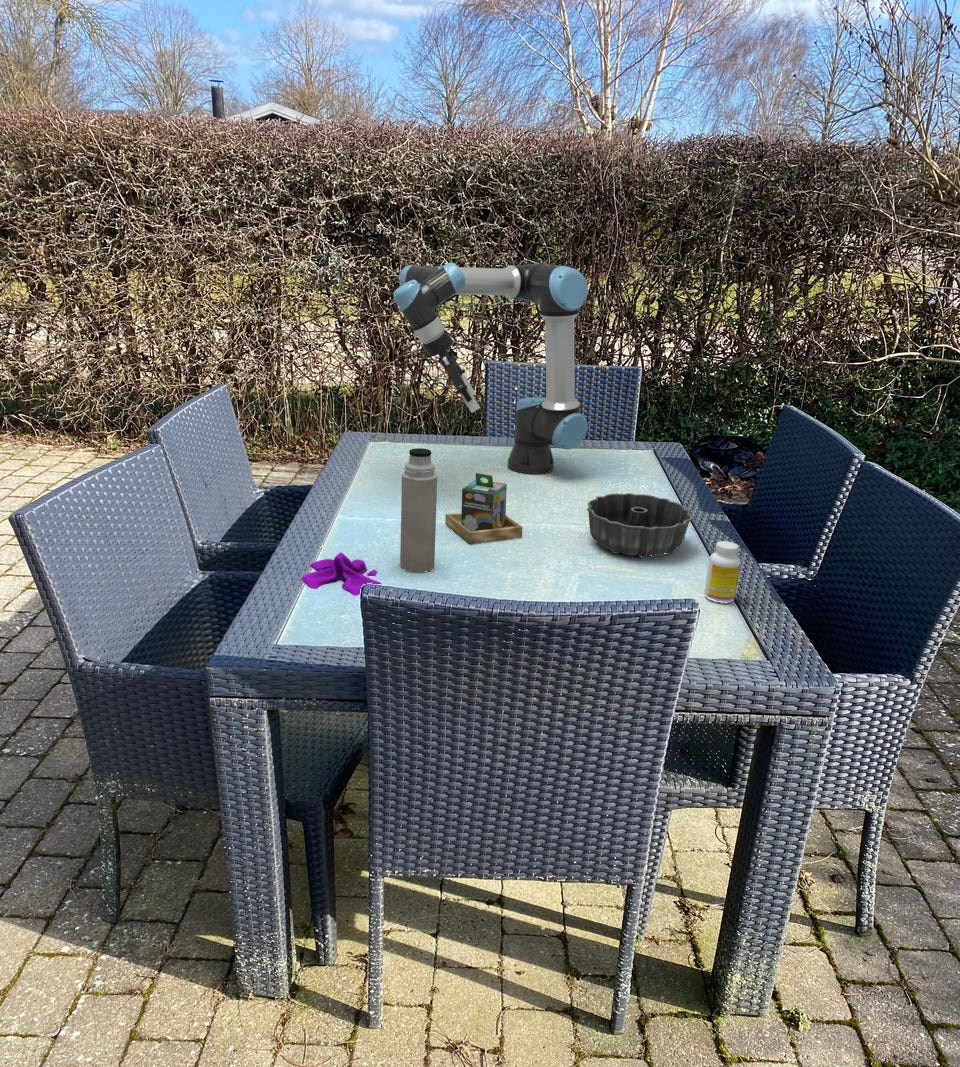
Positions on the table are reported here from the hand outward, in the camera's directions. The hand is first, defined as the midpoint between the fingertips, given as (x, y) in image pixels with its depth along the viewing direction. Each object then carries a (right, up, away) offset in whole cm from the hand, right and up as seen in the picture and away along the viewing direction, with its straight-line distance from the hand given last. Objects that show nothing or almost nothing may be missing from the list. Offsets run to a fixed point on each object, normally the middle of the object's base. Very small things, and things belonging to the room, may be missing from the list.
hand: (473, 403), depth 246 cm
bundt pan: (+41, -39, -18) cm, 60 cm away
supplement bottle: (+55, -51, -47) cm, 88 cm away
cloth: (-29, -46, -44) cm, 70 cm away
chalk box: (+2, -35, -14) cm, 38 cm away
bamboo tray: (+3, -35, -14) cm, 38 cm away
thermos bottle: (-13, -44, -38) cm, 59 cm away
